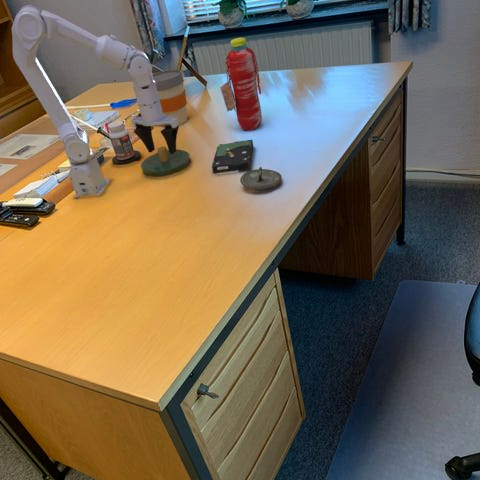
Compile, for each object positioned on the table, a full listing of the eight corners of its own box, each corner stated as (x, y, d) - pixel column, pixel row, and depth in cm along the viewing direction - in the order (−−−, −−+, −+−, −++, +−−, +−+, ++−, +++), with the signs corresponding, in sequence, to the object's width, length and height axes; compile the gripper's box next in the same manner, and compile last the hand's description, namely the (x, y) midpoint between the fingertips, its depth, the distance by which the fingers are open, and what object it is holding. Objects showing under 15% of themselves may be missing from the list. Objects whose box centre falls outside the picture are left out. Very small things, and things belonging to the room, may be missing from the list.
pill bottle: (131, 159, 146) (120, 126, 139) (114, 161, 147) (102, 128, 141) (137, 151, 150) (127, 119, 144) (121, 153, 152) (110, 121, 145)
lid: (239, 187, 126) (231, 171, 123) (271, 167, 126) (265, 151, 123) (255, 205, 119) (247, 189, 115) (289, 183, 119) (283, 166, 115)
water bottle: (227, 136, 150) (210, 47, 134) (227, 126, 156) (212, 40, 140) (265, 129, 149) (253, 38, 133) (264, 120, 155) (253, 32, 139)
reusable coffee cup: (197, 121, 166) (186, 74, 156) (162, 131, 163) (149, 84, 153) (186, 111, 175) (175, 67, 165) (153, 122, 172) (140, 77, 163)
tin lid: (184, 172, 133) (180, 156, 130) (136, 177, 135) (131, 162, 132) (194, 150, 143) (190, 135, 140) (148, 156, 146) (144, 141, 143)
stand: (137, 165, 145) (135, 161, 145) (109, 168, 147) (108, 164, 146) (144, 152, 152) (143, 148, 151) (118, 155, 154) (116, 152, 153)
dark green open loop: (184, 175, 134) (183, 169, 133) (139, 180, 136) (137, 174, 135) (193, 155, 144) (191, 149, 142) (151, 160, 146) (149, 154, 145)
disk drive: (251, 171, 129) (253, 147, 140) (249, 161, 127) (252, 138, 138) (213, 176, 131) (218, 152, 142) (211, 166, 129) (217, 143, 140)
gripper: (179, 96, 127) (191, 146, 136) (136, 96, 134) (150, 144, 143) (164, 106, 123) (177, 157, 132) (120, 106, 129) (136, 155, 138)
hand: (162, 151), depth 137 cm, fingers open, 7 cm apart
